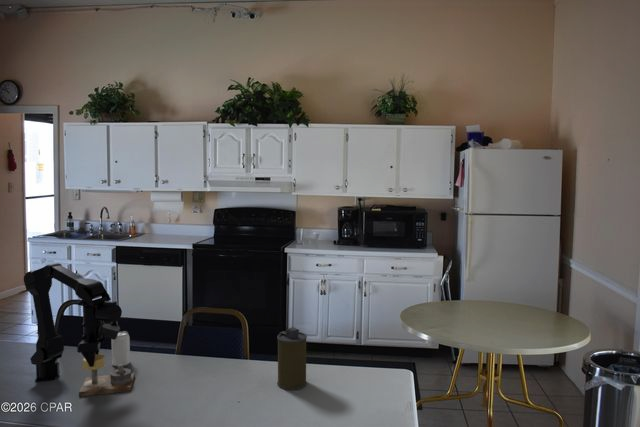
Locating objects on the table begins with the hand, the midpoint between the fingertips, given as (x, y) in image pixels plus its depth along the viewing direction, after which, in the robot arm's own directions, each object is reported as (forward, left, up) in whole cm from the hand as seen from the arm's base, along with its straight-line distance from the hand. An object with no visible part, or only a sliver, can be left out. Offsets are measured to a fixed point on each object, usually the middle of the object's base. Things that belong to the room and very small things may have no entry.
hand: (93, 362), depth 162 cm
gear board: (+4, 0, -9) cm, 10 cm away
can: (+6, +20, -9) cm, 23 cm away
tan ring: (0, 0, -1) cm, 1 cm away
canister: (+67, -14, -9) cm, 69 cm away
